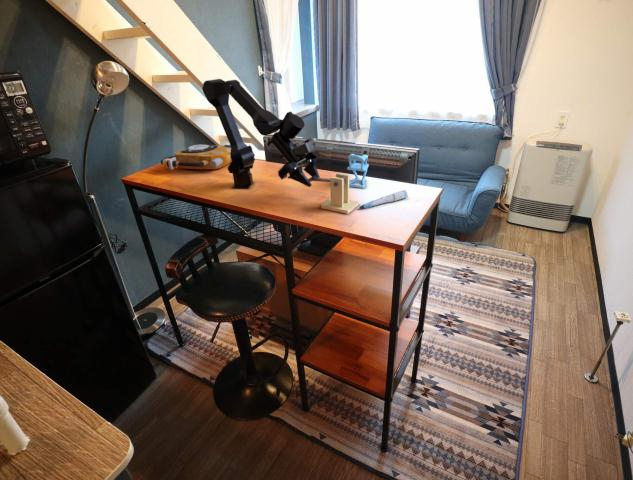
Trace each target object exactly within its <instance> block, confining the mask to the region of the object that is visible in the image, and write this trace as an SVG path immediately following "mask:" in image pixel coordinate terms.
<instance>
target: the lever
mask: <svg viewBox="0 0 633 480" xmlns="http://www.w3.org/2000/svg"><path fill="white" fill-rule="evenodd" d="M337 178H343V179H344V185H345V177H337ZM307 179H308V180H309V181H310V183H311V182H321V183H330V177H329V178H325V177H320V178H317V175H314V176H310V177H308V178H307Z"/></svg>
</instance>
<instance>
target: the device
mask: <svg viewBox="0 0 633 480" xmlns="http://www.w3.org/2000/svg"><path fill="white" fill-rule="evenodd" d="M230 152H231V146H230V144H224V145H219V144H210V145H209V144H194V145H190V146H189V147H187V148H184V149H182V150H180V151H178V152H176V153H174V155H172V156H171V155H170V156H166V157H165V158H162V159H160V165H162V166H163V167H165V168H167V169H169V170H175V169H176V168H177V169H185V170H186V169H187V170H217V169H220V168H223V167H225V166H227V165H230V163H231V162H232V160H231V157H230Z"/></svg>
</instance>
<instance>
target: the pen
mask: <svg viewBox="0 0 633 480" xmlns="http://www.w3.org/2000/svg"><path fill="white" fill-rule="evenodd" d="M408 197H409V195H408V190H406V189H405V190H400V191H396V192H393V193H390V194H388V195H385V196H381V197H380V198H377V199H373V200H370V201H368V202H365V203H364V204H362V205H360V206H359V207H358V208H359V209H366V208H371V207H375V206H379V205H382V204H385V203H393V202H397V201H400V200H403V199H406V198H408Z"/></svg>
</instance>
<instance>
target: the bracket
mask: <svg viewBox="0 0 633 480" xmlns="http://www.w3.org/2000/svg"><path fill="white" fill-rule="evenodd" d="M337 177H345V185H344V179H343V178H337ZM329 179H330V182H329V185H330V186H329V187H330V188H329V190H330V197H329V198H328V199H327V200H326V201H325V202H323V203H322V204H321V205H320V208H321V209H322V210H323V209H324V210H328V211H332V212H336V213H342V214H346V215H349V214H350V213H351V212H352V211H353V210H355V209H356V208H357V207H358V206H359V201H356V200H352V199H350V187H349V181H350V174H347V173H341V172H336V174H335V176H331V177H329Z"/></svg>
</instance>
